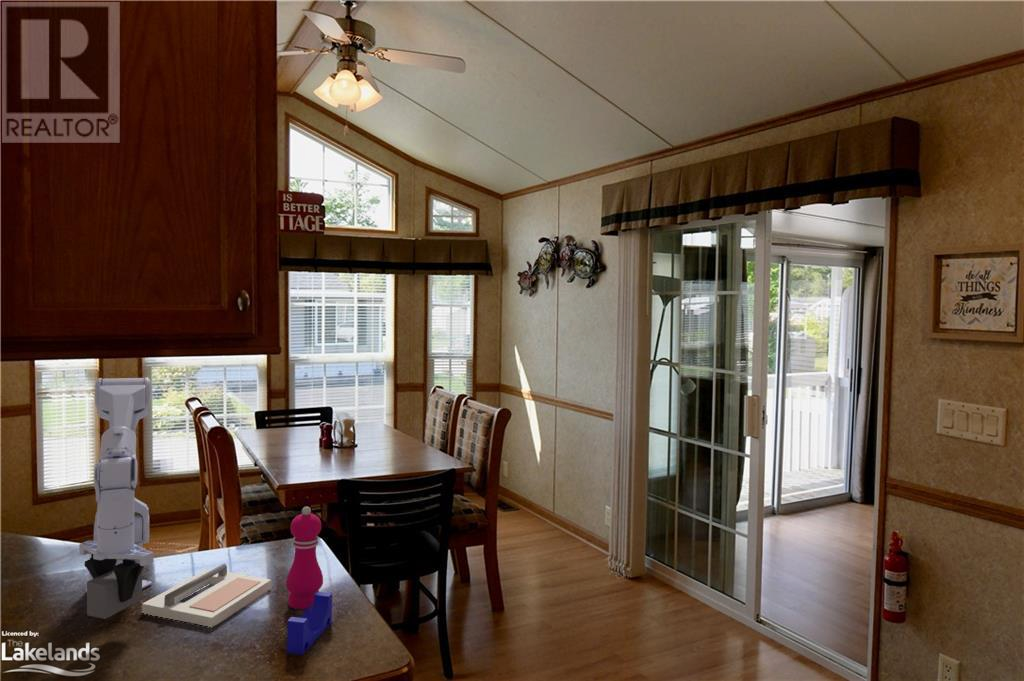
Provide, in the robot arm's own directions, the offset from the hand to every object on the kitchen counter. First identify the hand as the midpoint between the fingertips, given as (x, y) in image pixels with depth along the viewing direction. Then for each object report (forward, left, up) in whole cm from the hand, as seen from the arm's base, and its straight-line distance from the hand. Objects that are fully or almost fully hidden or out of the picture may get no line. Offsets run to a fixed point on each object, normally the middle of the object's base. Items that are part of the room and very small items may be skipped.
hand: (115, 597), depth 121 cm
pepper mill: (+24, +23, -7) cm, 34 cm away
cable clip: (+32, +11, -7) cm, 35 cm away
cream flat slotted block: (+6, +17, -7) cm, 19 cm away
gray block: (0, 0, -2) cm, 2 cm away
